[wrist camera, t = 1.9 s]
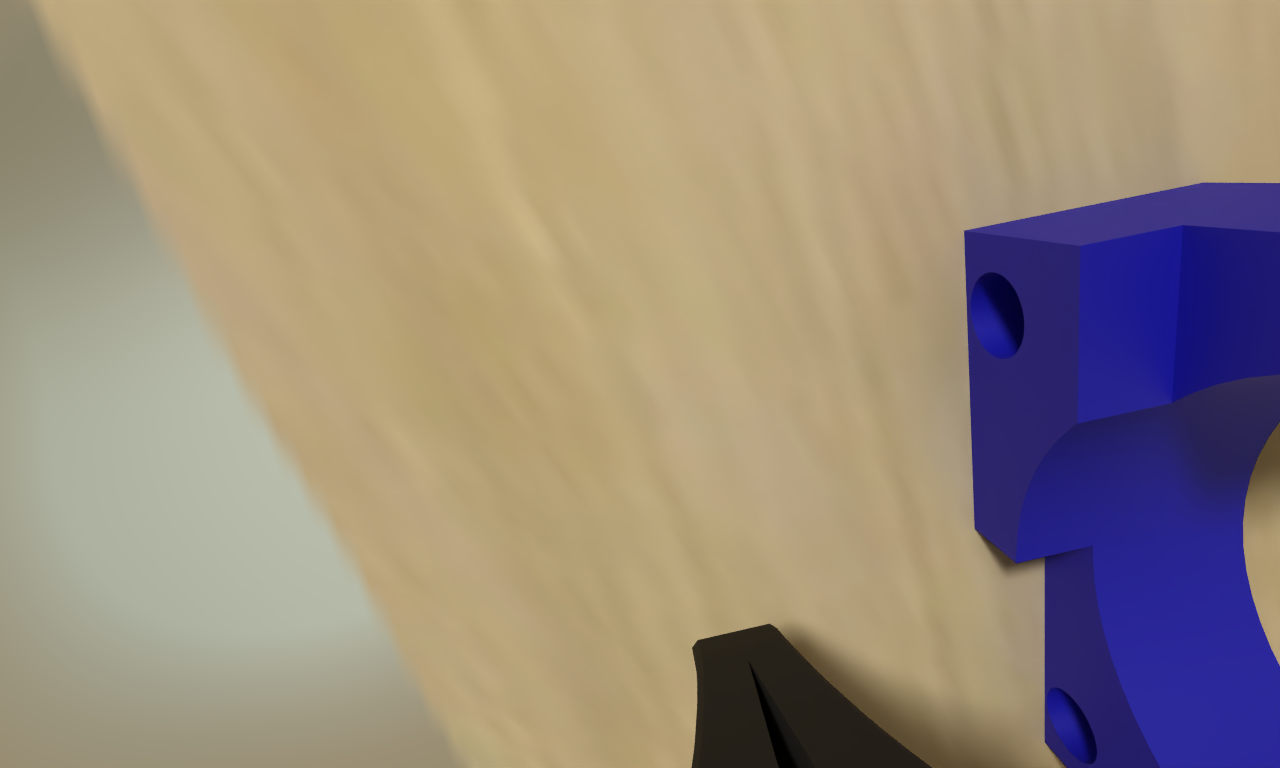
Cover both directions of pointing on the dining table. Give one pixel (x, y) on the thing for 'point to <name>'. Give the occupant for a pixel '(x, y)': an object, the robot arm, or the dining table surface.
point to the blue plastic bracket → (1134, 462)
